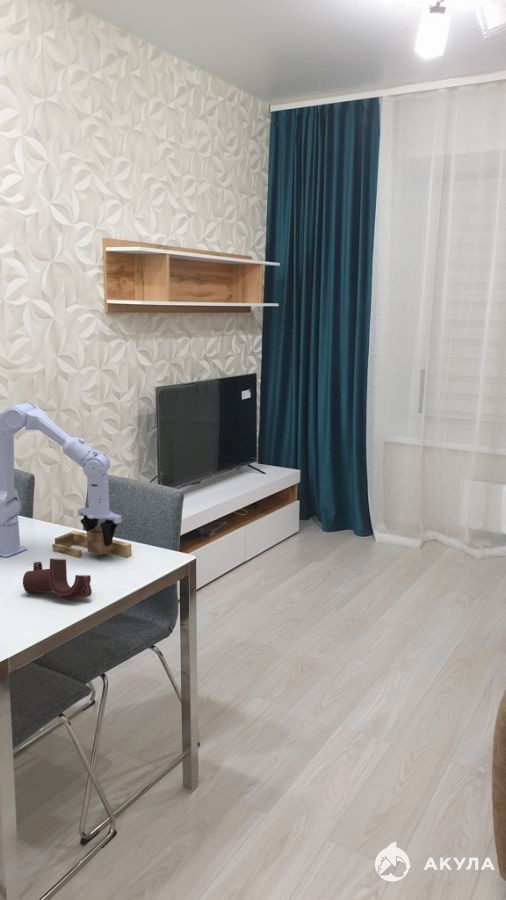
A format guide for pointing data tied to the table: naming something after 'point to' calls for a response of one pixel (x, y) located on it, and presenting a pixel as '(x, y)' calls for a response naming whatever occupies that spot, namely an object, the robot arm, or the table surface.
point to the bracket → (56, 580)
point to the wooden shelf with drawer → (81, 540)
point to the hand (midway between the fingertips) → (100, 543)
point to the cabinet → (97, 541)
